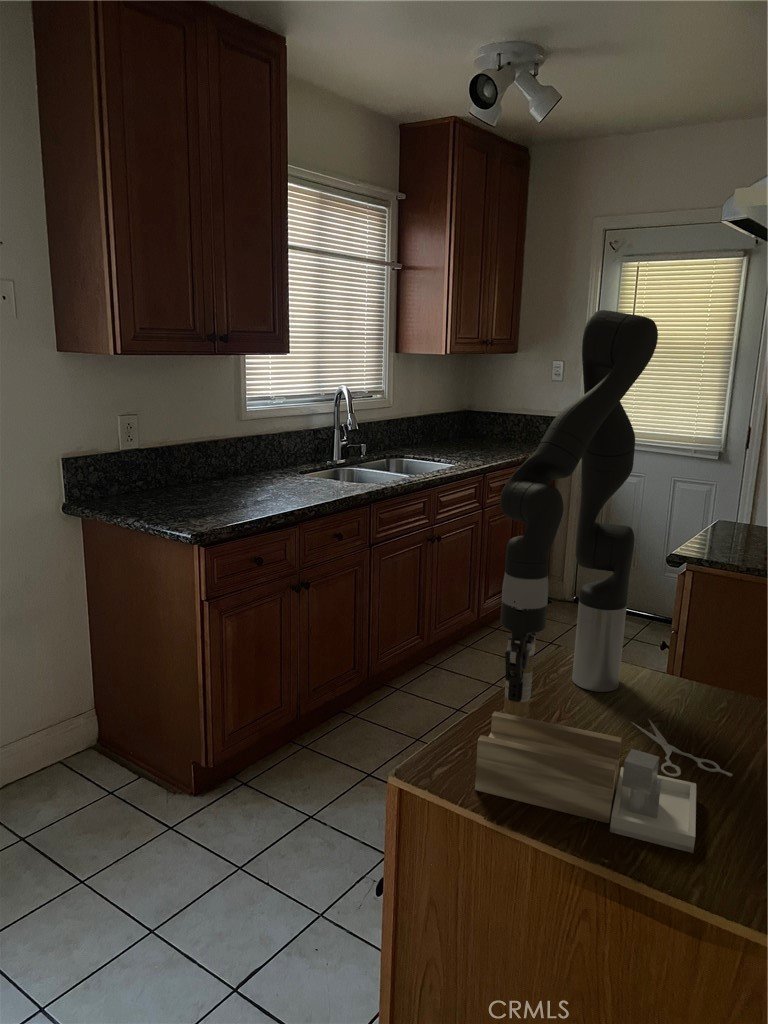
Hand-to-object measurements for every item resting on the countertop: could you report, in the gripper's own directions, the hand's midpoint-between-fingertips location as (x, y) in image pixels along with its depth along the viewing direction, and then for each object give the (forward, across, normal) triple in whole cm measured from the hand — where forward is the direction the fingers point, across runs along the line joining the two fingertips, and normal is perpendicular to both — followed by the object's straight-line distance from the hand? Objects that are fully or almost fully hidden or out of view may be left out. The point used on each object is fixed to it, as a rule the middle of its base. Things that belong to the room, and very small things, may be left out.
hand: (518, 694), depth 129 cm
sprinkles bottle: (+4, 0, 0) cm, 4 cm away
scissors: (+9, -9, +25) cm, 28 cm away
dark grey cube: (+6, +13, +20) cm, 24 cm away
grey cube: (+4, +13, +21) cm, 25 cm away
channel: (+9, +12, +8) cm, 17 cm away
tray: (+9, +12, +24) cm, 28 cm away
